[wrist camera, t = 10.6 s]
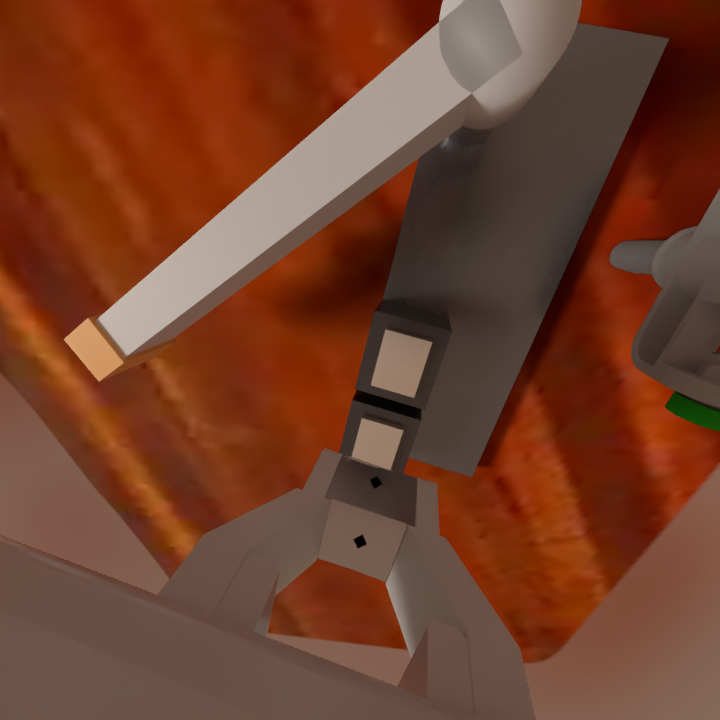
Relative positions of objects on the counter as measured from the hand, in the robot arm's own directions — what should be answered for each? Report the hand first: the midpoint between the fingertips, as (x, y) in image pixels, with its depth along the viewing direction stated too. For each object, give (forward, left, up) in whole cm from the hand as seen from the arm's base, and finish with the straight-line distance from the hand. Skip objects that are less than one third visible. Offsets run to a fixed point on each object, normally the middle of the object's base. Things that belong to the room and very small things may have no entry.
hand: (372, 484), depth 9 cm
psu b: (+5, 0, -13) cm, 14 cm away
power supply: (0, 0, -13) cm, 13 cm away
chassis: (-4, +3, -14) cm, 15 cm away
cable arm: (-5, -7, -8) cm, 12 cm away
